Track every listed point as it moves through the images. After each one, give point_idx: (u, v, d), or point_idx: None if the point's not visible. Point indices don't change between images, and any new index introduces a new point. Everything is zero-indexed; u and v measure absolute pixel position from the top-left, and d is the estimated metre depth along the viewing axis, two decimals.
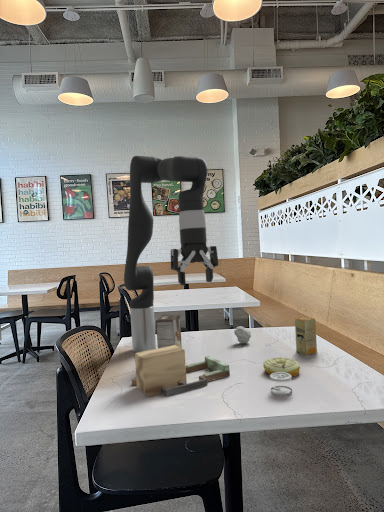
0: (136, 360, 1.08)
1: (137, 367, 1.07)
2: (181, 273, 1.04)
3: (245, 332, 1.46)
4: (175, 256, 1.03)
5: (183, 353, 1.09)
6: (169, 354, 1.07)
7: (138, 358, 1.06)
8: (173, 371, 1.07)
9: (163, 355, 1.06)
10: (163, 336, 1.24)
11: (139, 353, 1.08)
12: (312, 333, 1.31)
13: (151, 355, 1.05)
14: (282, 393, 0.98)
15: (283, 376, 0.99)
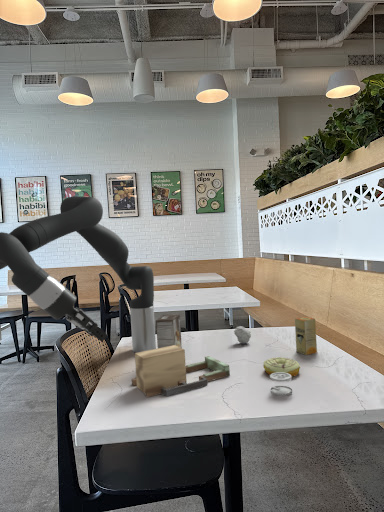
0: (136, 360, 1.08)
1: (137, 367, 1.07)
2: None
3: (245, 332, 1.46)
4: None
5: (183, 353, 1.09)
6: (169, 354, 1.07)
7: (138, 358, 1.06)
8: (173, 371, 1.07)
9: (163, 355, 1.06)
10: (163, 336, 1.24)
11: (139, 353, 1.08)
12: (312, 333, 1.31)
13: (151, 355, 1.05)
14: (282, 393, 0.98)
15: (283, 376, 0.99)
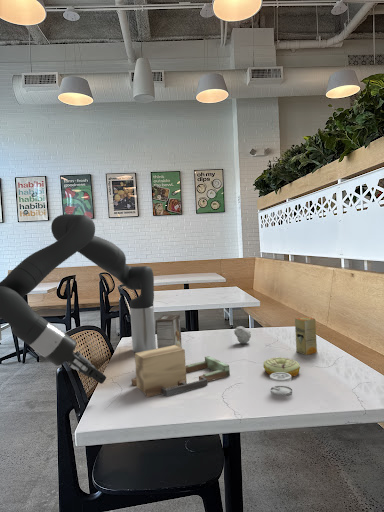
0: (136, 360, 1.08)
1: (137, 367, 1.07)
2: None
3: (245, 332, 1.46)
4: None
5: (183, 353, 1.09)
6: (169, 354, 1.07)
7: (138, 358, 1.06)
8: (173, 371, 1.07)
9: (163, 355, 1.06)
10: (163, 336, 1.24)
11: (139, 353, 1.08)
12: (312, 333, 1.31)
13: (151, 355, 1.05)
14: (281, 393, 0.98)
15: (283, 376, 0.99)
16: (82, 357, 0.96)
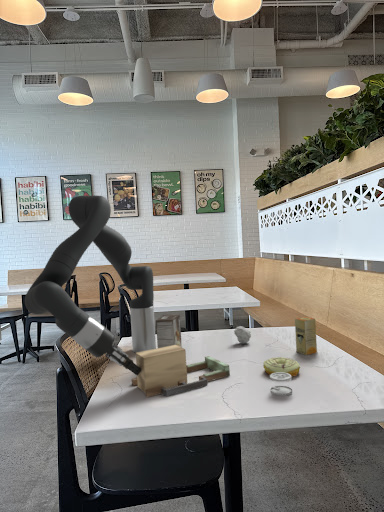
0: (137, 360, 1.08)
1: None
2: None
3: (245, 332, 1.46)
4: None
5: (183, 353, 1.09)
6: (169, 353, 1.07)
7: (138, 358, 1.06)
8: (173, 370, 1.07)
9: (164, 355, 1.06)
10: (163, 336, 1.24)
11: (140, 353, 1.08)
12: (312, 333, 1.31)
13: (152, 355, 1.05)
14: (281, 393, 0.98)
15: (283, 376, 0.99)
16: (120, 349, 1.01)
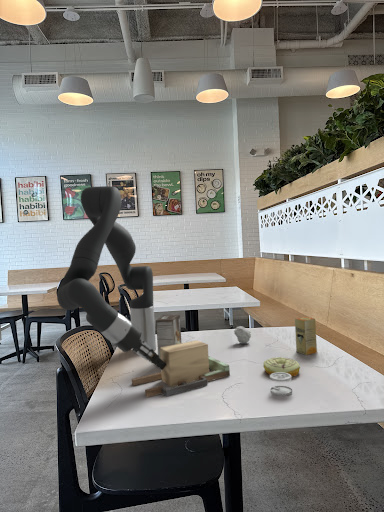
0: (161, 355, 1.12)
1: None
2: None
3: (245, 332, 1.46)
4: None
5: (206, 348, 1.13)
6: (193, 348, 1.11)
7: (163, 352, 1.10)
8: (196, 365, 1.11)
9: (188, 349, 1.10)
10: (163, 336, 1.24)
11: (164, 348, 1.12)
12: (312, 333, 1.31)
13: (176, 349, 1.09)
14: (281, 393, 0.98)
15: (283, 376, 0.99)
16: (146, 344, 1.05)
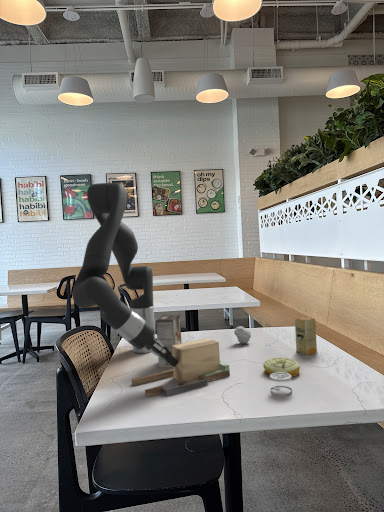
0: (173, 352, 1.14)
1: None
2: None
3: (245, 332, 1.46)
4: None
5: (217, 346, 1.15)
6: (204, 346, 1.12)
7: (175, 350, 1.12)
8: (208, 362, 1.13)
9: (199, 347, 1.12)
10: (163, 336, 1.24)
11: (176, 345, 1.14)
12: (312, 333, 1.31)
13: (188, 347, 1.11)
14: (281, 393, 0.98)
15: (283, 376, 0.99)
16: (159, 342, 1.07)
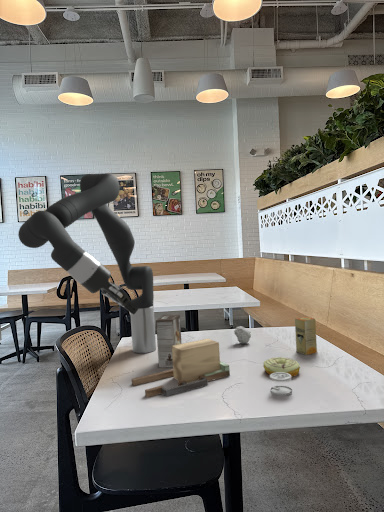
0: (173, 353, 1.14)
1: (174, 359, 1.13)
2: None
3: (245, 332, 1.46)
4: None
5: (217, 346, 1.15)
6: (204, 346, 1.12)
7: (175, 350, 1.12)
8: (208, 362, 1.13)
9: (199, 347, 1.12)
10: (163, 336, 1.24)
11: (176, 346, 1.14)
12: (312, 333, 1.31)
13: (188, 347, 1.11)
14: (281, 393, 0.98)
15: (283, 376, 0.99)
16: (116, 286, 1.01)
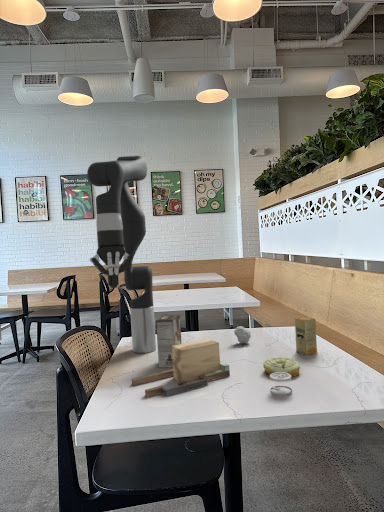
0: (173, 353, 1.14)
1: (174, 359, 1.13)
2: (110, 276, 1.10)
3: (245, 332, 1.46)
4: (96, 264, 1.07)
5: (217, 346, 1.15)
6: (204, 346, 1.12)
7: (175, 350, 1.12)
8: (208, 362, 1.13)
9: (199, 347, 1.12)
10: (163, 336, 1.24)
11: (176, 346, 1.14)
12: (312, 333, 1.31)
13: (188, 347, 1.11)
14: (281, 393, 0.98)
15: (283, 376, 0.99)
16: None
